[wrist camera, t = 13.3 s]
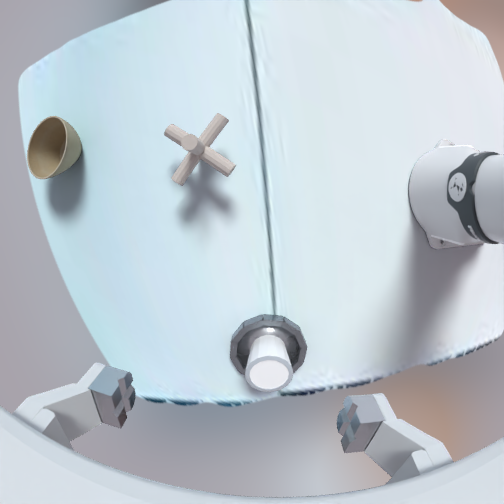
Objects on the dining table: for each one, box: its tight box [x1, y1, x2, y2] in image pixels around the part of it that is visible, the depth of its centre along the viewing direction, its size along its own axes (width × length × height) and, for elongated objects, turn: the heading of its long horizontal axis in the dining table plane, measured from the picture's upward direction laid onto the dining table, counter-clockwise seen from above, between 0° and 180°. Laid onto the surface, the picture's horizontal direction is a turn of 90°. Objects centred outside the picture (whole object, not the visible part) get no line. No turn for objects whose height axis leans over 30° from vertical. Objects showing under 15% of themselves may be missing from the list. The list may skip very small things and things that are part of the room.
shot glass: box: [245, 335, 293, 392], centre depth 39 cm, size 7×7×7 cm
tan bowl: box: [27, 116, 82, 179], centre depth 33 cm, size 10×10×7 cm
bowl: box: [230, 314, 307, 375], centre depth 42 cm, size 12×12×2 cm
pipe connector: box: [164, 113, 236, 186], centre depth 32 cm, size 10×10×10 cm
